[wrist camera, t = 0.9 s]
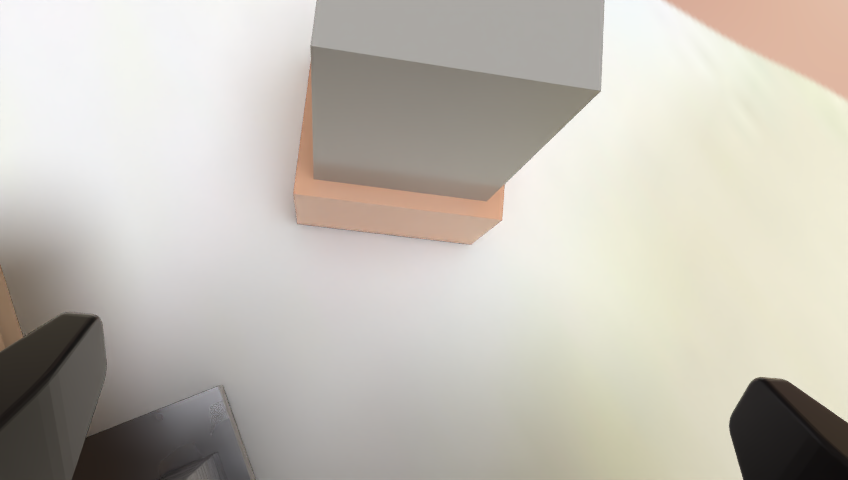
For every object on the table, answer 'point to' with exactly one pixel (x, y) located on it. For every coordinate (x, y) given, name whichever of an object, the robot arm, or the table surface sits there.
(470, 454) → the table surface
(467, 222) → the plinth
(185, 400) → the trapdoor frame
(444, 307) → the table surface
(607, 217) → the table surface
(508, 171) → the slate block
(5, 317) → the trapdoor
